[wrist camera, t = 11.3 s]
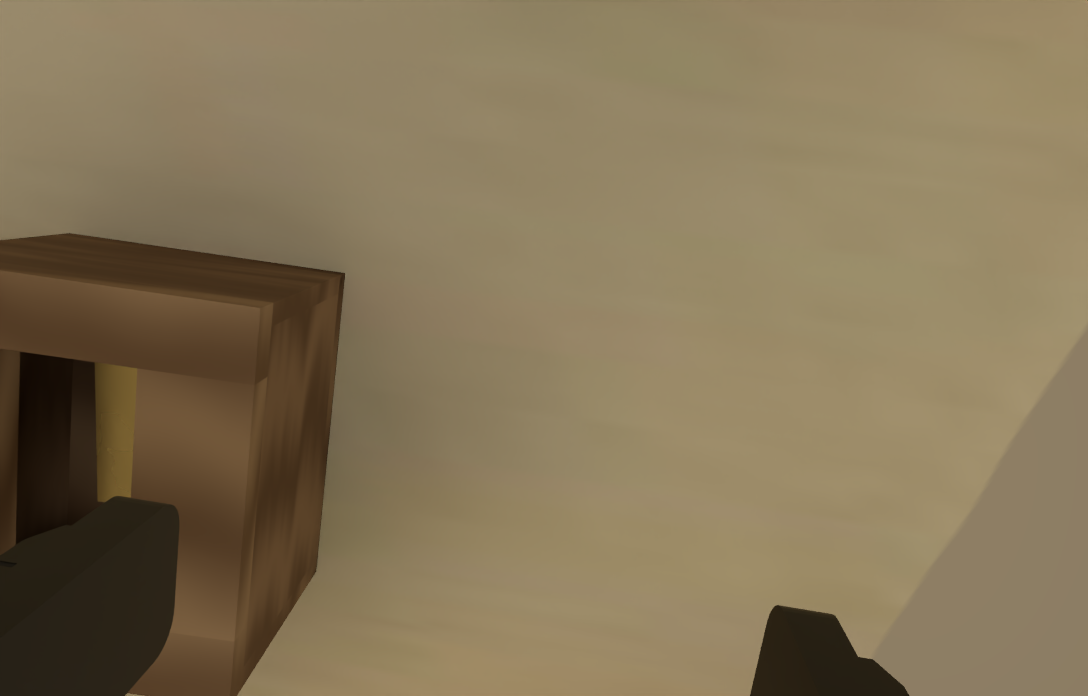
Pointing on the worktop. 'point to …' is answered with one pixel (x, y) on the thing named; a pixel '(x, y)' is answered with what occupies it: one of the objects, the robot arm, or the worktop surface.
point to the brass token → (114, 429)
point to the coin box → (177, 424)
